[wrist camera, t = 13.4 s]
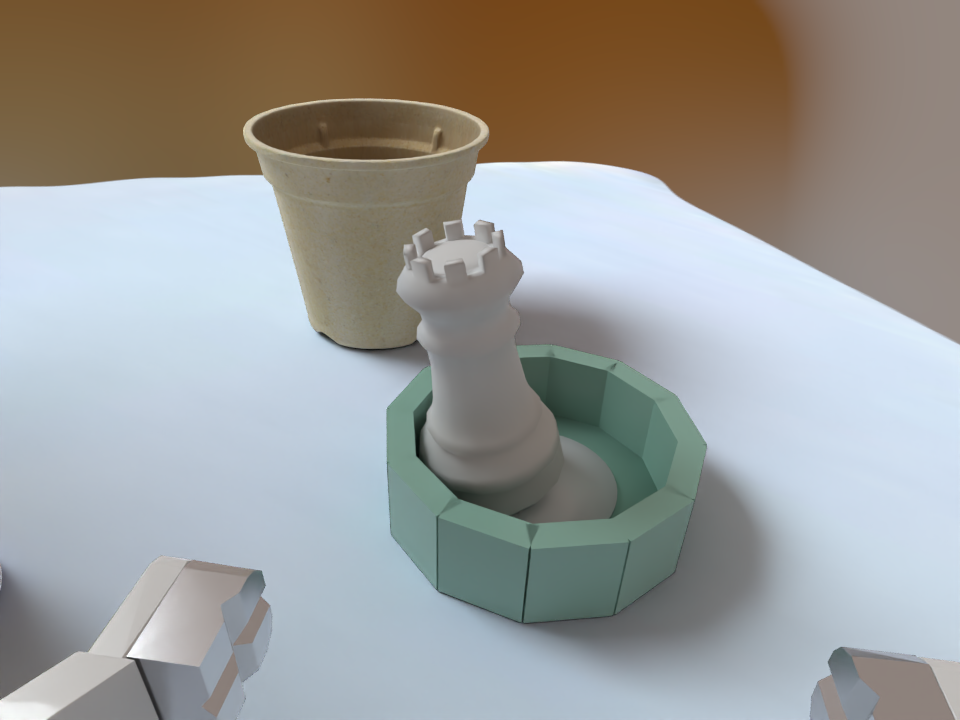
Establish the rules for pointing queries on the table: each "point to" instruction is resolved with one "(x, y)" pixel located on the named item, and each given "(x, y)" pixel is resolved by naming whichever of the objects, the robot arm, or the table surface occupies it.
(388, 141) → the flower pot
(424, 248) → the rook chess piece
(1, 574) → the supplement bottle
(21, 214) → the table surface
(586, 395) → the bowl
